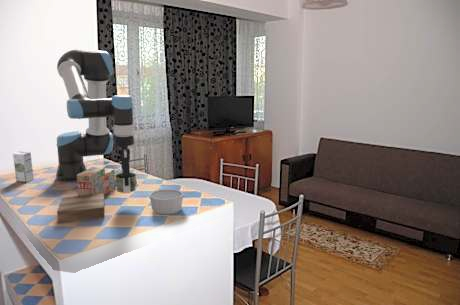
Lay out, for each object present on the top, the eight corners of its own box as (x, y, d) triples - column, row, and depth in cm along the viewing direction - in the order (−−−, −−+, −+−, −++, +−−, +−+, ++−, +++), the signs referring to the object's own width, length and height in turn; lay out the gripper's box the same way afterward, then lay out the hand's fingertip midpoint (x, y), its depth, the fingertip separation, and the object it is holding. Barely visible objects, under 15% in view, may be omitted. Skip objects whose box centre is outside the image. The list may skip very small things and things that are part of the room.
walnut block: (63, 208, 148) (62, 197, 147) (104, 204, 153) (103, 193, 152) (58, 224, 133) (57, 211, 132) (104, 219, 138) (103, 207, 137)
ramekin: (168, 201, 156) (168, 186, 155) (190, 209, 148) (190, 193, 146) (143, 210, 146) (142, 194, 145) (164, 219, 138) (164, 202, 136)
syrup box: (34, 179, 185) (31, 151, 182) (26, 182, 179) (23, 153, 176) (24, 178, 186) (20, 150, 183) (15, 181, 180) (12, 153, 177)
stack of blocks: (104, 186, 175) (102, 161, 172) (116, 187, 174) (114, 162, 171) (78, 202, 155) (76, 174, 152) (92, 203, 154) (89, 175, 151)
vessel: (108, 189, 149) (107, 174, 147) (126, 184, 156) (125, 169, 154) (126, 196, 142) (125, 180, 140) (144, 190, 148) (143, 175, 147)
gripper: (113, 130, 152) (116, 181, 157) (114, 141, 132) (117, 199, 137) (131, 129, 154) (133, 179, 160) (135, 140, 134) (138, 197, 140)
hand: (126, 188), depth 148 cm, fingers closed on vessel, 9 cm apart
